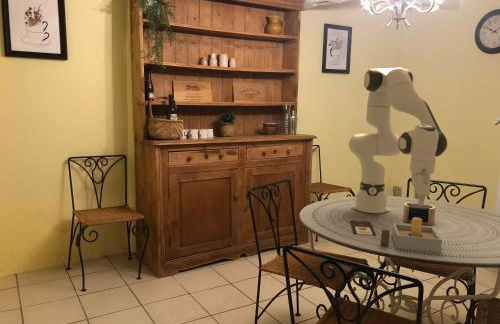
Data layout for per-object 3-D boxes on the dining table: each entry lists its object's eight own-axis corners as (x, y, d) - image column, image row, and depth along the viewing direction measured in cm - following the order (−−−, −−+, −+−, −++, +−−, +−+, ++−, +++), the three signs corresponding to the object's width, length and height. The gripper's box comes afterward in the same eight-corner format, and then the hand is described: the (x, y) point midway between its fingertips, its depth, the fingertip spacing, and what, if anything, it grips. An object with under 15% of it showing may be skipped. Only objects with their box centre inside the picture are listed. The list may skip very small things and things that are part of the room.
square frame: (391, 234, 175) (392, 223, 174) (432, 238, 172) (433, 227, 171) (395, 248, 160) (396, 235, 159) (440, 252, 156) (442, 239, 155)
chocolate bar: (370, 221, 191) (375, 234, 173) (369, 223, 191) (375, 236, 174) (350, 220, 192) (353, 232, 175) (349, 222, 192) (353, 235, 175)
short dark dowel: (380, 243, 164) (381, 228, 163) (388, 244, 164) (389, 229, 163) (380, 246, 162) (382, 231, 161) (388, 246, 161) (390, 231, 160)
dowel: (409, 241, 168) (411, 217, 166) (418, 242, 167) (421, 218, 166) (410, 244, 164) (412, 219, 163) (420, 245, 164) (422, 220, 162)
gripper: (436, 173, 150) (432, 210, 153) (426, 163, 170) (422, 196, 172) (417, 171, 152) (414, 208, 154) (410, 162, 171) (406, 194, 174)
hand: (418, 201), depth 163 cm, fingers open, 8 cm apart
